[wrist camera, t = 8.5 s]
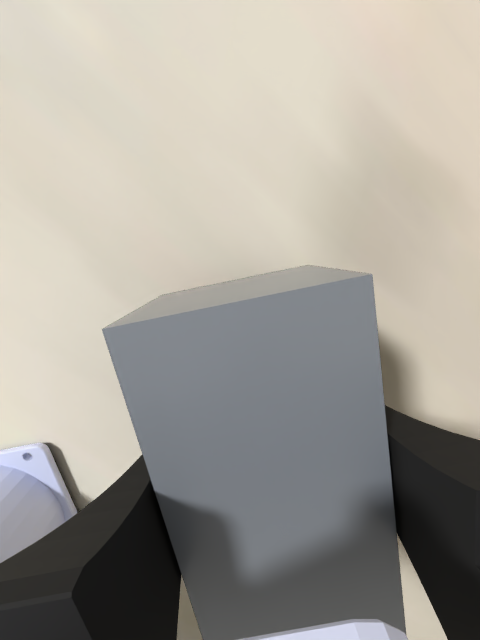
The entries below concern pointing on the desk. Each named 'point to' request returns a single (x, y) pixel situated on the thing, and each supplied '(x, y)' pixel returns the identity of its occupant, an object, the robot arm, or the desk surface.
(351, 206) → the desk surface
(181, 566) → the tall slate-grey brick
